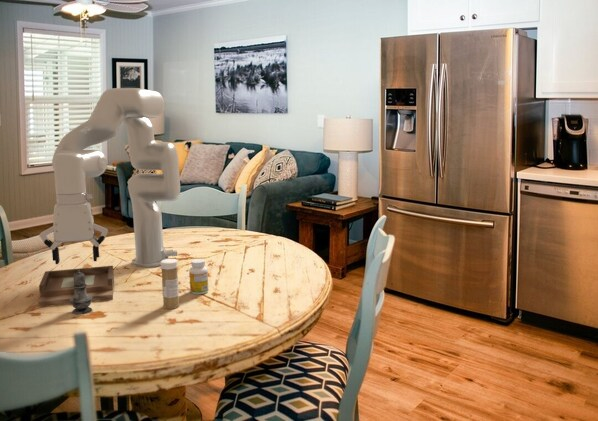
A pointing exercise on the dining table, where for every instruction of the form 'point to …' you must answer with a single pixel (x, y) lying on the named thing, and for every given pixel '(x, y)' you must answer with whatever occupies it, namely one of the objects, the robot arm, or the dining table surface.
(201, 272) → the supplement bottle
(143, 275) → the dining table surface
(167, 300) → the sprinkles bottle
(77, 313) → the salt shaker
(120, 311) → the dining table surface
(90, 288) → the wooden tray
